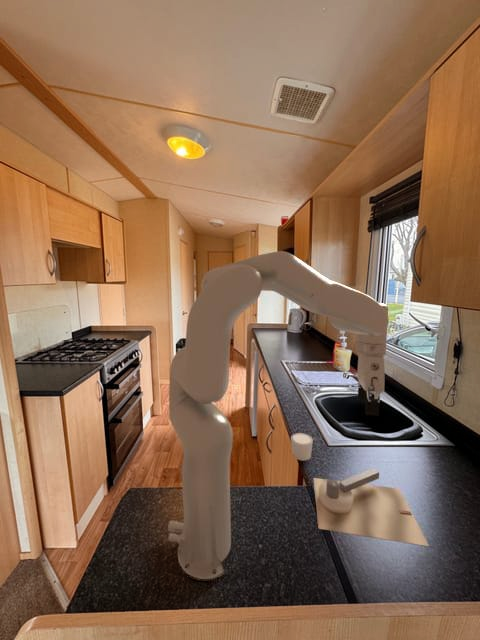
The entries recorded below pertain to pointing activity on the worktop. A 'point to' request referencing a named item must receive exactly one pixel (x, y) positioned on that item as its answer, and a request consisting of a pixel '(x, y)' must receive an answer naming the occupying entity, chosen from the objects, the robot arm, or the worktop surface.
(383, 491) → the tan flat board
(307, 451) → the white short cylinder
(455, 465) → the worktop surface
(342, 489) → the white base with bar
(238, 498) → the worktop surface
